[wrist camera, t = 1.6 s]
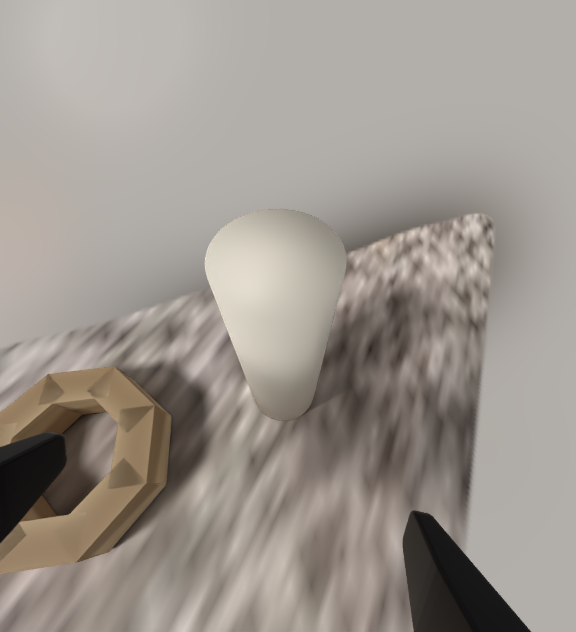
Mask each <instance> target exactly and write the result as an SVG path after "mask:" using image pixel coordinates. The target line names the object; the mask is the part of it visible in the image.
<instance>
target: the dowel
mask: <svg viewBox="0 0 576 632" xmlns="http://www.w3.org/2000/svg"><path fill="white" fill-rule="evenodd" d="M345 270H346V252H345V248H344V246H343V244H342V241H341V240H340V239H339V237H338V235H337V234H336V233H335V232H334V230H333V229H332V228H330V227H329V226H328V225H327V224H326V223H324V222H323V221H321V220H319V219H318V218H316V217H313V216H311V215H309V214H306V213H303V212H299V211H294V210H287V209H268V210H261V211H256V212H252V213H249V214H246V215H243V216H241V217H239V218H237V219H235V220H233V221H231V222H230V223H229V224H227V225H226V226H224V227H223V228H222V229H221V230H220V231H219V232H218V233H217V234H216V235H215V237H214V238H213V240H212V241H211V243H210V245H209V247H208V249H207V253H206V256H205V271H206V275H207V278H208V281H209V284H210V286H211V289H212V291H213V294H214V297H215V299H216V302H217V304H218V307H219V310H220V312H221V315H222V317H223V320H224V322H225V325H226V328H227V330H228V333H229V335H230V338H231V341H232V343H233V346H234V348H235V351H236V353H237V356H238V359H239V361H240V364H241V366H242V369H243V372H244V374H245V377H246V379H247V382H248V384H249V387H250V390H251V392H252V395H253V397H254V400H255V402H256V405H257V406H258V408H259V409H260V410H261V412H263V413H264V414H265V415H266V416H268V417H270V418H272V419H275V420H279V421H288V420H293V419H295V418H298V417H299V416H301V415H302V414H304V413H305V412H306V411H307V410H308V408H309V407H310V405H311V403H312V401H313V398H314V394H315V390H316V386H317V382H318V378H319V374H320V370H321V366H322V362H323V358H324V354H325V350H326V346H327V342H328V338H329V334H330V330H331V326H332V322H333V318H334V314H335V310H336V306H337V302H338V298H339V294H340V290H341V286H342V282H343V278H344V274H345Z"/></svg>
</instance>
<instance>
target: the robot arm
mask: <svg viewBox="0 0 576 632" xmlns="http://www.w3.org/2000/svg"><path fill="white" fill-rule="evenodd" d="M66 460H67V458H66V445H65V438H64V436H63V435H62V434H58V433H53V432H44V433H41V434H38V435H35V436H32V437H29V438H26V439H23V440H20V441H16V442H13V443H10V444H7V445H4V446H1V447H0V544H1V543H2V541H3V540H4V539H5V538H6V537H7V536H8V535H9V534H10V533H11V532H12V530H13V529H14V528H15V527H16V526H17V525H18V523H19V522H20V521H21V520H22V519H23V518H24V516H25V515H26V514H27V513H28V511H29V510H30V509H31V508H32V507H33V505H34V504H35V503H36V502H37V501H38V499H39V498H40V497H41V496H42V494H43V493H44V492H45V491H46V490H47V488H48V487H49V486H50V485H51V483H52V482H53V481H54V480H55V479H56V477H57V476H58V475H59V474H60V473H61V471H62V470H63V468H64V467H65V464H66ZM403 553H404V561H405V568H406V576H407V584H408V591H409V599H410V607H411V614H412V622H413V629H414V632H531V631H530V630H529V629H528V628H527V626H526V625H525V624H524V623H523V622H522V621H521V620H520V618H519V617H518V616H517V615H516V613H515V612H514V611H513V610H512V609H511V608H510V606H509V605H508V604H507V603H506V602H505V601H504V599H503V598H502V597H501V596H500V595H499V594H498V592H497V591H496V590H495V589H494V588H493V587H492V585H491V584H490V583H489V582H488V581H487V580H486V578H485V577H484V576H483V575H482V574H481V572H480V571H479V570H478V569H477V568H476V567H475V566H474V565H473V563H472V562H471V561H470V560H469V558H468V557H467V556H466V555H465V554H464V553H463V551H462V550H461V549H460V548H459V547H458V546H457V544H456V543H455V542H454V541H453V540H452V539H451V537H450V536H449V535H448V534H447V533H446V531H445V530H444V529H443V528H442V527H441V526H440V524H439V523H438V522H437V521H436V520H435V519H434V517H433V516H431V515H430V514H428V513H424V512H420V511H412V512H411V513H410V515H409V518H408V522H407V525H406V529H405V532H404V536H403Z"/></svg>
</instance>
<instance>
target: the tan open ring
mask: <svg viewBox="0 0 576 632" xmlns="http://www.w3.org/2000/svg"><path fill="white" fill-rule="evenodd" d="M100 412H108V413H109V414H110V415H111V417H112V418H113V419H114V420H115V421H116V422H117V423H118V430H117V436H116V442H115V448H114V454H113V460H112V466H111V471H110V472H109V473H108V475H107V476H106V477H105V478H104V479H103V480H102V481H101V482H100V483H99V484H98V485H97V486H96V487H95V488H94V489H93V490H92V491H91V492H90V493H89V494H88V495H87V496H86V497H85V498H84V500H83V501H82V502H81V503H80V504H79V505H78V506H77V507H76V508H75V509H74V510H73V511H72V512H71V513H70V514H69V515H64V516H57V515H56V514H55V512H54V511H53V510H52V508H51V507H50V505H49V504H48V503H47V501H46V500H45V499H44V497H43V496H41V497H40V498H39V499H38V501H37V502H36V503H35V504H34V505H33V507H32V508H31V509H30V510H29V511H28V513H27V514H26V515H25V516H24V518H23V519H22V520H21V521H20V522H19V523H18V525H17V526H16V527H15V528H14V529H13V530H12V532H11V533H10V534H9V535H8V536H7V537H6V538H5V539H4V540H3V541H2V543H1V544H0V574H5V573H11V572H18V571H24V570H30V569H36V568H43V567H49V566H55V565H62V564H68V563H74V562H75V563H76V562H80V561H83V560H86V559H89V558H92V557H95V556H98V555H101V554H104V553H107V552H109V551H110V550H111V549H112V548H113V546H114V545H115V544H116V543H117V542H118V541H119V539H120V538H121V537H122V536H123V535H124V534H125V532H126V531H127V530H128V529H129V528H130V527H131V525H132V524H133V523H134V522H135V521H136V520H137V518H138V517H139V516H140V515H141V514H142V513H143V511H144V510H145V509H146V508H147V507H148V505H149V504H150V503H151V502H152V501H153V500H154V498H155V497H156V496H157V495H158V494H159V493H160V491H161V490H162V489H163V488H164V487H165V486H166V485H167V472H168V459H169V446H170V432H171V419H172V416H171V415H170V414H169V413H168V412H167V411H166V410H164V409H163V408H162V407H161V406H160V405H159V404H158V403H157V402H156V401H155V400H154V399H153V398H152V397H151V396H150V395H149V394H148V393H147V392H146V391H144V390H143V389H142V388H141V387H140V386H139V385H138V384H137V383H136V382H135V381H134V380H133V379H131V378H130V377H129V376H127V375H126V374H124V373H123V372H122V371H120V370H119V369H117V368H116V367H115V366H113V367H104V368H96V369H88V370H79V371H71V372H63V373H54V374H48V375H47V376H45V377H44V378H43V379H42V380H40V381H39V382H38V383H37V384H35V385H34V386H33V387H32V388H30V389H29V390H28V391H27V392H25V393H24V394H23V395H22V396H20V397H19V398H18V399H17V400H15V401H14V402H13V403H12V404H10V405H9V406H8V407H7V408H5V409H4V410H3V411H2V412H0V447H1V446H4V445H7V444H10V443H13V442H16V441H20V440H23V439H26V438H29V437H32V436H35V435H38V434H41V433H44V432H53V433H58V434H62V433H63V432H64V431H65V430H66V429H67V428H68V427H69V426H71V425H72V424H73V423H74V422H75V421H76V420H77V419H78V418H79V417H80V416H82V415H84V414H92V413H100Z"/></svg>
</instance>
